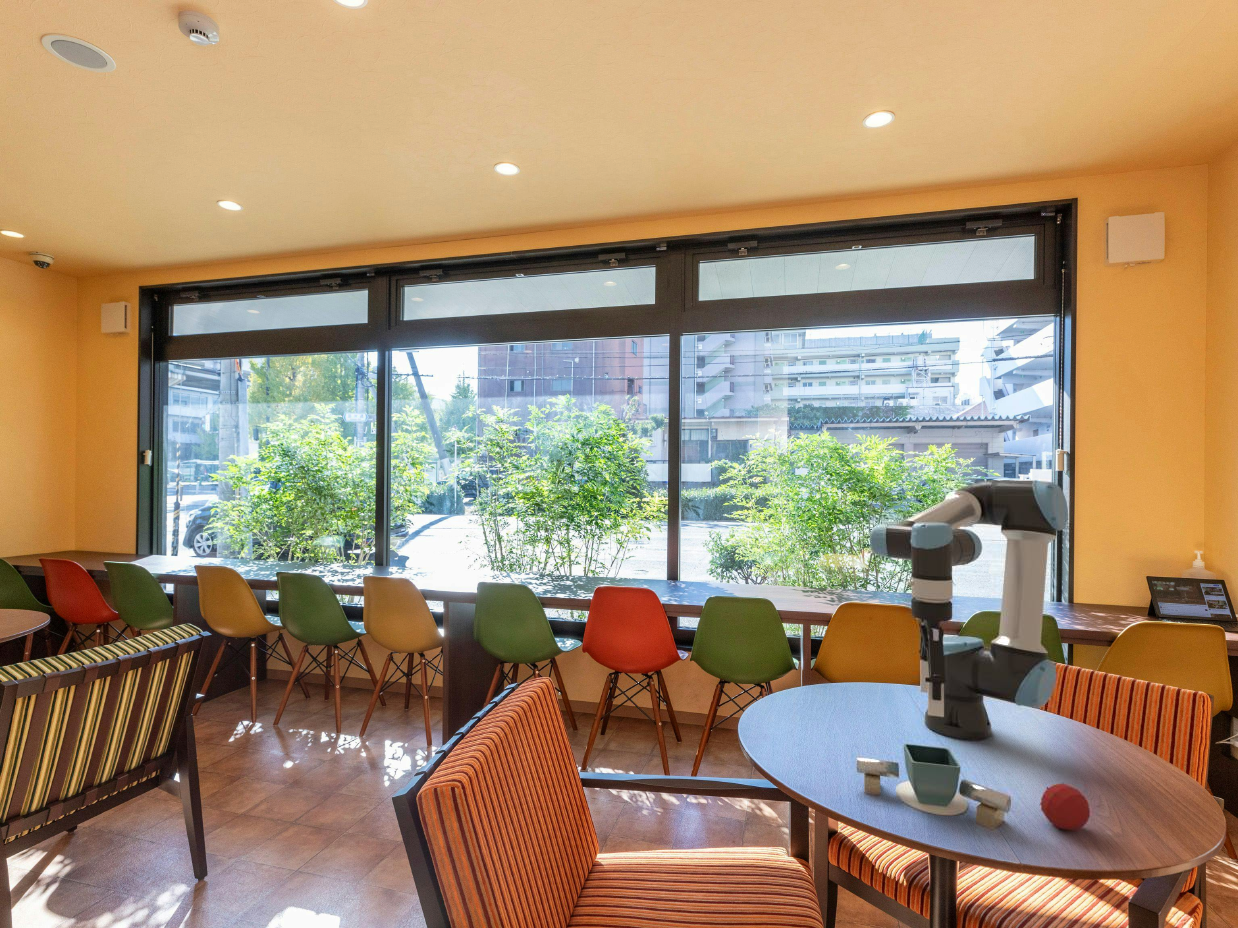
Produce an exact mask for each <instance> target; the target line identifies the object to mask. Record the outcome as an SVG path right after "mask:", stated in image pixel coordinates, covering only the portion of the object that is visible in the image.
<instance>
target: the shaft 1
mask: <svg viewBox="0 0 1238 928" xmlns="http://www.w3.org/2000/svg"><path fill="white" fill-rule="evenodd" d="M856 773H858V774H859V773H860V774H863V782H864V783H863V786H864V788H863V791H864V794H870V795H875V796H881V777H885V778H892V779H897V780H900V764H899V762H896V761H895V762H894V761H890V760H882V759H875V758H869V757H863V756H856Z"/></svg>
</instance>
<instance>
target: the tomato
mask: <svg viewBox="0 0 1238 928" xmlns="http://www.w3.org/2000/svg"><path fill="white" fill-rule="evenodd" d="M1039 806H1040V809H1041V811H1042V814H1043V815H1044V816H1045V818H1046V819H1047V820H1048V822H1049V823H1050V824H1052V825H1054V826H1056V827H1057V828H1059V829H1061V830H1064V831H1070V830H1071V831H1075V830H1079V829H1081V828H1083V827H1085V825H1086V824H1087V823H1088V821H1089V819H1090V817H1091V814H1090V813H1091V811H1090V810H1091V809H1090V805H1089V802H1088V800H1087V798H1086V797H1085V796H1084V794H1082V793H1081V791H1080V790H1079V789H1077V788H1075V787H1073V786H1071V785H1069V784H1066V783H1056V784H1053V785H1051V786H1049V787H1048V786H1046V790H1044V792H1043V793H1042V796H1041V800H1040V803H1039Z"/></svg>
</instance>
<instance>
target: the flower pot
mask: <svg viewBox="0 0 1238 928" xmlns="http://www.w3.org/2000/svg"><path fill="white" fill-rule="evenodd" d="M902 746H903V753H904V754H903V755H904V762H905V763H904V764H905V771H906V774H907V777H908V778H907V779H908V781H910V783H911V786H912V788H913V790H914V792H915V795H916V797H917V799H918V801H919V802H920V803H923V804H932V805H940V806H947V805H948V804H949V803H950V802H951V801H952V800H953V798H954V796H955V794H956V792H957V791H958V787H959V781H960V774H961V767H962V766H961V765H960V763H959V762H958V760H957V759H956V757H955V756H954V754H953V753H952V751H951V749H950V748H948V747H941V746H931V745H930V746H929V745H922V744H921V745H919V744H912V743H903V745H902Z"/></svg>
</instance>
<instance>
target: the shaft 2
mask: <svg viewBox="0 0 1238 928" xmlns="http://www.w3.org/2000/svg"><path fill="white" fill-rule="evenodd" d="M958 787H959V791H958V793H959V794H960V795H961V796H963V797H964V798H965V799H969V800H972V801H975V802H978V803H979V804H978V805H977V806H976V807H975V808H976V818H975V819H976V821H975V822H976V824H978V825H981V826H983V827H986V828H988V829H990V830H995V829H996V828H998V827H999V826H1000V825H1001V824H1002V823H1003V822H1004V821H1005V813H1006V814H1007V813H1009V812H1010V811H1011V806H1012V798H1011V796H1010V795H1008V794H1006V793H1003V792H1000V791H998V790H994V789H993V788H992V789H991V788H989V787H986V786H984V785H980V784H977V783H975V782H972V781H969V780H966V779H962V780H960V782H959V786H958Z"/></svg>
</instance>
